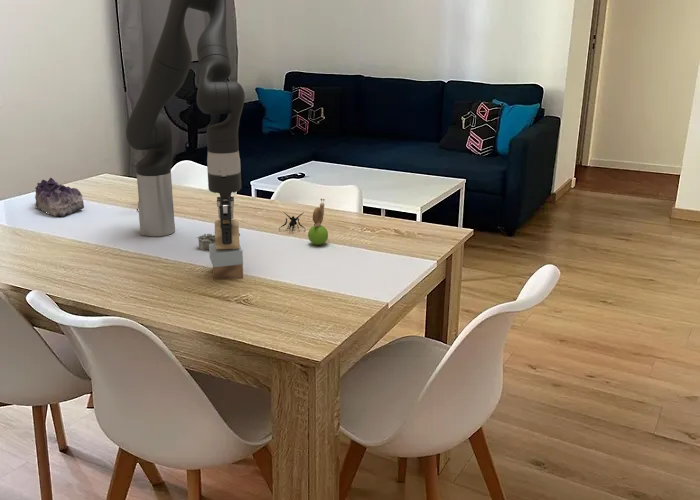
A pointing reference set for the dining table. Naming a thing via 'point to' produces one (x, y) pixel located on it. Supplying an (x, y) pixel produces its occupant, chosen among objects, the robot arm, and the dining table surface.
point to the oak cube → (234, 235)
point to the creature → (292, 222)
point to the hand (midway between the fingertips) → (227, 239)
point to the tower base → (228, 272)
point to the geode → (57, 198)
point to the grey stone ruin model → (206, 241)
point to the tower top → (225, 256)
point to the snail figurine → (318, 227)
